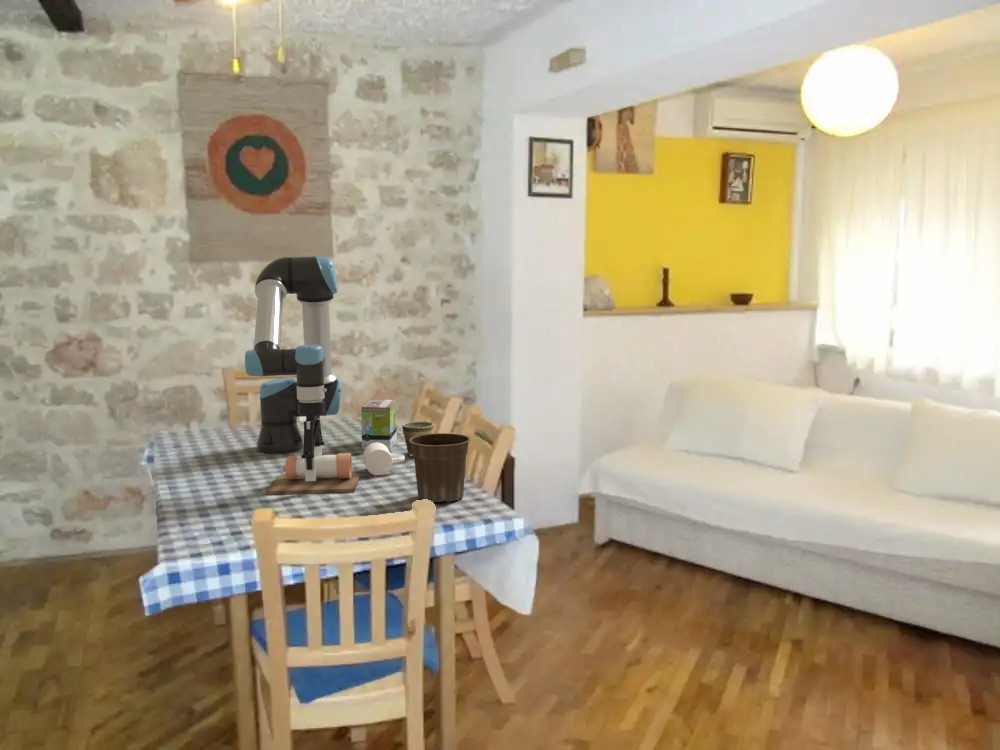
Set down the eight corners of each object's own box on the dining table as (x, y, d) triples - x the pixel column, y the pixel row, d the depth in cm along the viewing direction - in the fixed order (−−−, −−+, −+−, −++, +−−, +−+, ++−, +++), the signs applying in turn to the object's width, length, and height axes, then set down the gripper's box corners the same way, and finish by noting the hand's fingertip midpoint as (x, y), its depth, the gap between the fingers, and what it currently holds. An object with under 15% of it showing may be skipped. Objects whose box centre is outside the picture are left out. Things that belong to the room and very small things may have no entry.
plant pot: (428, 486, 248) (426, 430, 245) (480, 492, 242) (480, 434, 239) (399, 502, 233) (398, 442, 231) (455, 508, 227) (454, 447, 224)
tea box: (391, 450, 293) (390, 406, 290) (361, 450, 293) (359, 406, 291) (397, 440, 307) (396, 398, 305) (368, 440, 308) (367, 398, 306)
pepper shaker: (348, 470, 248) (279, 473, 247) (351, 482, 254) (284, 485, 253) (349, 448, 253) (281, 450, 251) (352, 460, 259) (286, 463, 257)
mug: (366, 476, 259) (365, 450, 258) (363, 468, 269) (362, 443, 268) (406, 474, 262) (406, 447, 261) (403, 466, 272) (402, 440, 270)
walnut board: (266, 494, 242) (265, 490, 241) (277, 479, 257) (276, 475, 257) (354, 492, 243) (354, 488, 243) (360, 477, 259) (359, 473, 259)
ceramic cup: (433, 458, 281) (433, 427, 280) (402, 458, 281) (401, 428, 279) (434, 448, 294) (433, 419, 293) (403, 449, 293) (403, 420, 292)
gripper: (318, 408, 235) (321, 485, 238) (330, 392, 259) (333, 463, 262) (289, 408, 234) (293, 486, 237) (304, 393, 259) (307, 463, 262)
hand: (314, 474), depth 250 cm, fingers open, 13 cm apart
